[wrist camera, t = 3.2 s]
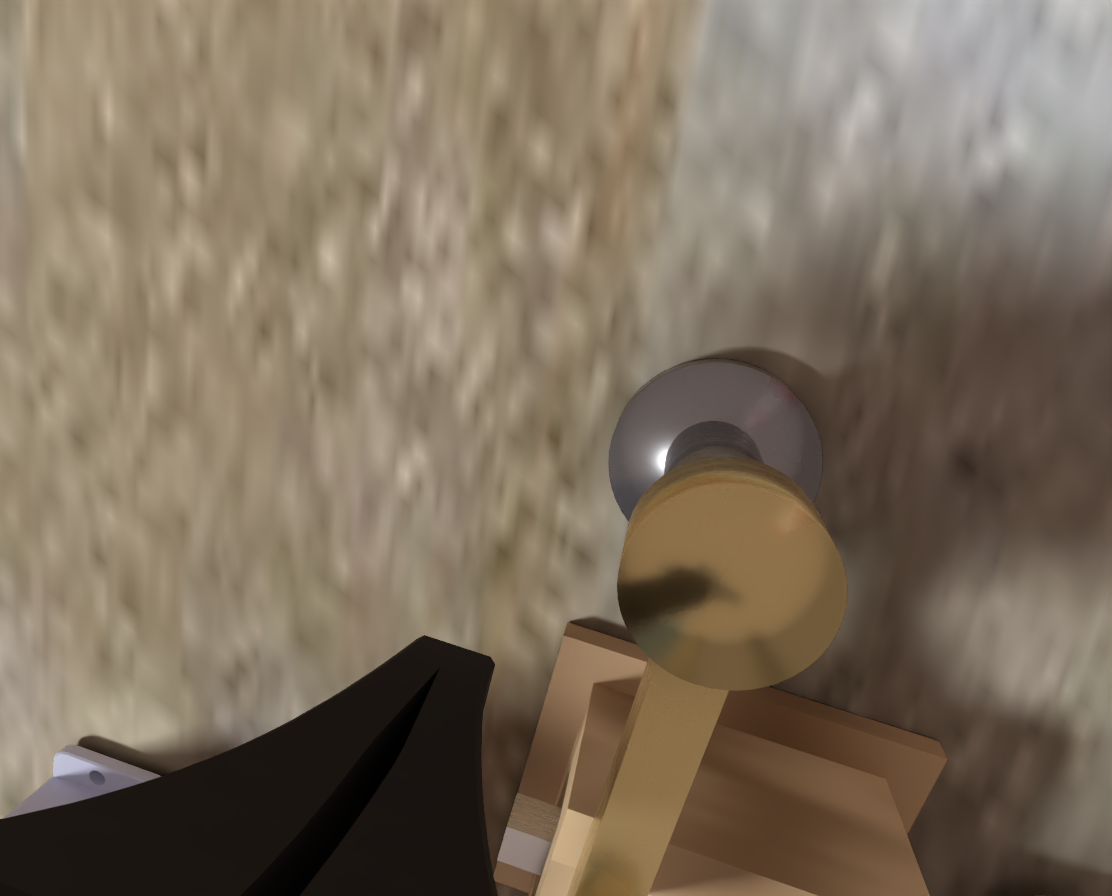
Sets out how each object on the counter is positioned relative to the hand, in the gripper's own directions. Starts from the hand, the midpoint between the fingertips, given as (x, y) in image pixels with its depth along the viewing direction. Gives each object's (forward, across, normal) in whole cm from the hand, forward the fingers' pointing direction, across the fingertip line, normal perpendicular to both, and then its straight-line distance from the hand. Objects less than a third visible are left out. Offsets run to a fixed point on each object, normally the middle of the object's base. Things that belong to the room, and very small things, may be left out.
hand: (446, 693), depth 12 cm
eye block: (+5, -6, +5) cm, 9 cm away
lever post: (+5, -4, -4) cm, 7 cm away
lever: (0, -4, -1) cm, 4 cm away
